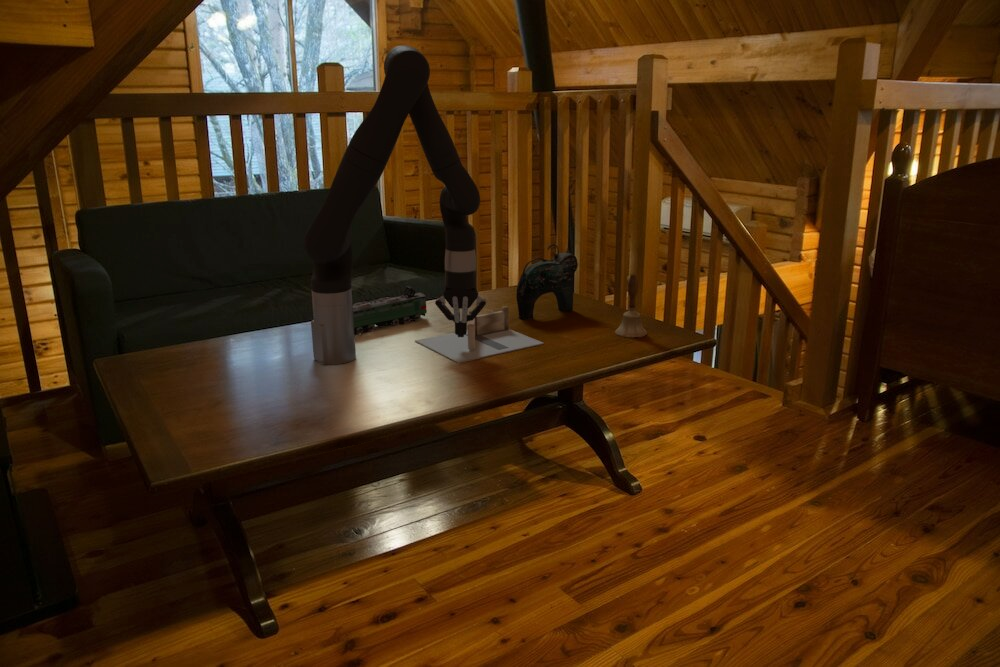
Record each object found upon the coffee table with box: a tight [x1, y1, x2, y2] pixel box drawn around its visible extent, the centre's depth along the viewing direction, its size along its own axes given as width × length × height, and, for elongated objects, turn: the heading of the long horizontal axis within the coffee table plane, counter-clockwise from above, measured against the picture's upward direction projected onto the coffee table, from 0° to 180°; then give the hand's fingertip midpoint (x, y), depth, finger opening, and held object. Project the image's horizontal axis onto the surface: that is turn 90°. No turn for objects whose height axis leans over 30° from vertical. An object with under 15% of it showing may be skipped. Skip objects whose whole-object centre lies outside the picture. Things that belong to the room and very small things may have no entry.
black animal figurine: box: [515, 243, 578, 321], centre depth 223 cm, size 20×6×20 cm, turn 124°
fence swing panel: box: [467, 318, 475, 350], centre depth 197 cm, size 12×2×6 cm, turn 0°
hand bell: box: [614, 273, 648, 339], centre depth 205 cm, size 8×8×16 cm
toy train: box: [352, 285, 428, 335], centre depth 213 cm, size 5×31×10 cm, turn 130°
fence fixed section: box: [468, 305, 510, 336], centre depth 207 cm, size 12×2×6 cm, turn 125°
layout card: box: [414, 328, 544, 364], centre depth 200 cm, size 26×21×1 cm
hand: (461, 336), depth 194 cm, fingers closed
